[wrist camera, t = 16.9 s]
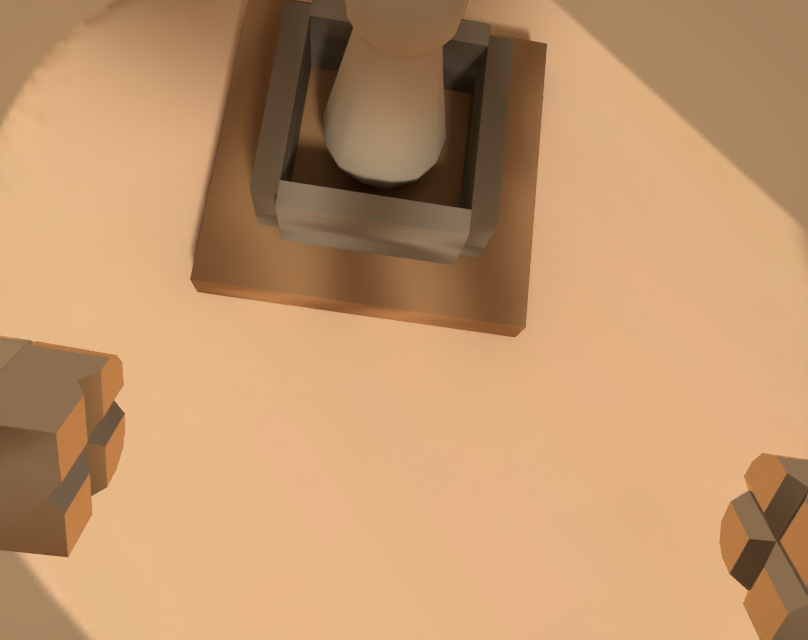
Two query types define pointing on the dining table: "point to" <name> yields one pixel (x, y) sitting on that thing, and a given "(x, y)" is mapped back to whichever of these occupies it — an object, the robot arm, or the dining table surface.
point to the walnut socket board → (365, 205)
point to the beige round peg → (391, 90)
